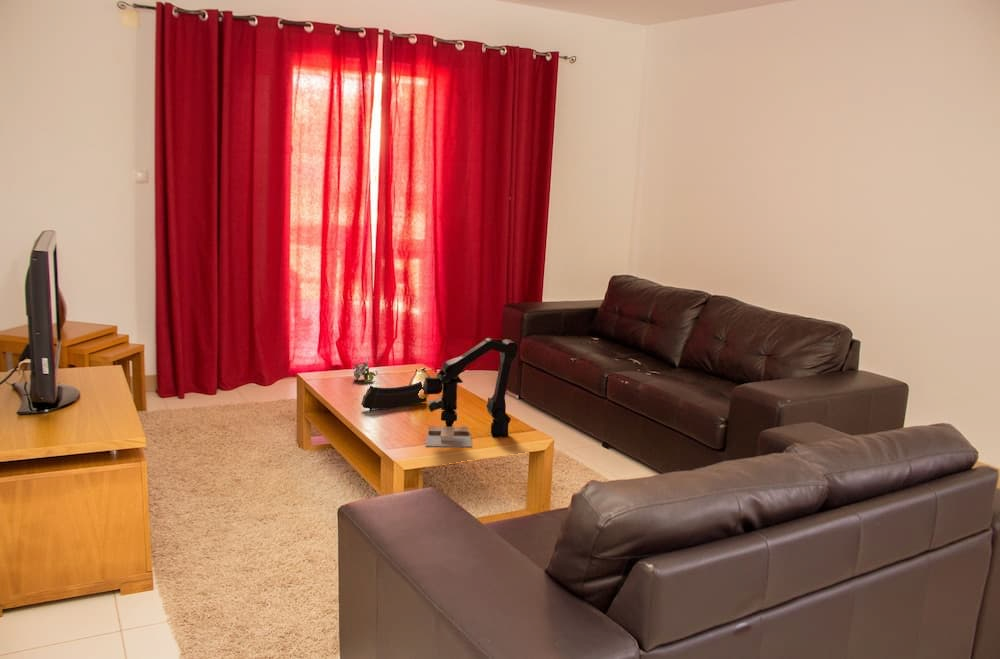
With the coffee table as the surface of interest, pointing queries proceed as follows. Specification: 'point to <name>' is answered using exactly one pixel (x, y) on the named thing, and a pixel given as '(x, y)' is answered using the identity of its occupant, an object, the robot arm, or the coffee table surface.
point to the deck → (457, 430)
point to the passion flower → (363, 372)
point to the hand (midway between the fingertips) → (448, 430)
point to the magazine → (392, 397)
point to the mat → (457, 442)
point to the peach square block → (447, 433)
